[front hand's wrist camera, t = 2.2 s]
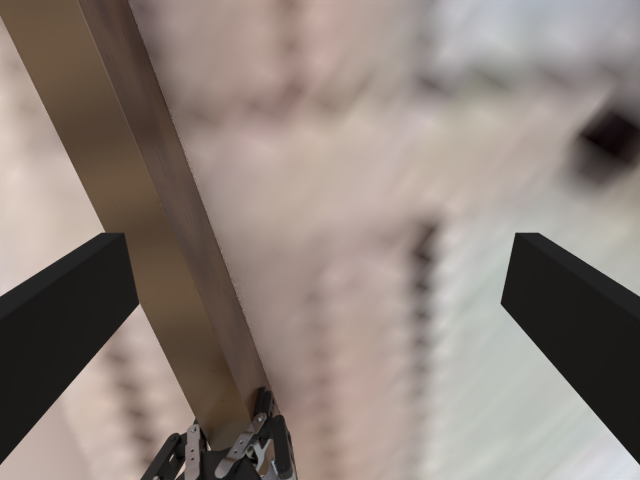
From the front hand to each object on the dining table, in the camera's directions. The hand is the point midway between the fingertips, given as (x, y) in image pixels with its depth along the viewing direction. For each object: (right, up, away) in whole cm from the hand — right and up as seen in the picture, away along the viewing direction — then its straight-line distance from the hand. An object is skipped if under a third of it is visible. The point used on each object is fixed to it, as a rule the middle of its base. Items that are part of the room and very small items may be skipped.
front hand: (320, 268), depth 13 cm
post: (-15, +12, +18) cm, 27 cm away
